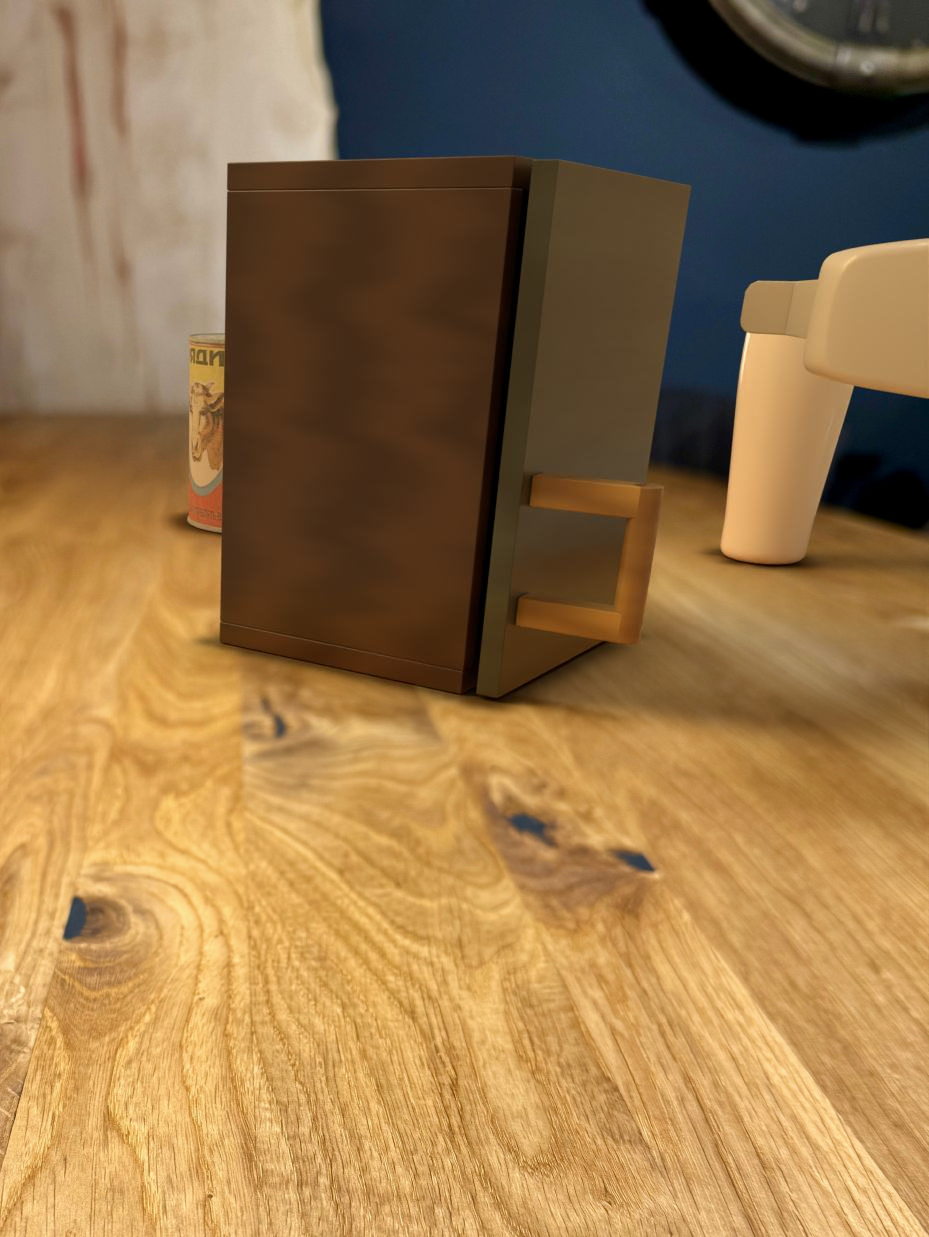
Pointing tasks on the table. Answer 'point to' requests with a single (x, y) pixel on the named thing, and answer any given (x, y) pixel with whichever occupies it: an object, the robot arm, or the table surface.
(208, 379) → the canned food
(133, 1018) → the table surface
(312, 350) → the cupboard
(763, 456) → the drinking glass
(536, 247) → the cupboard door
